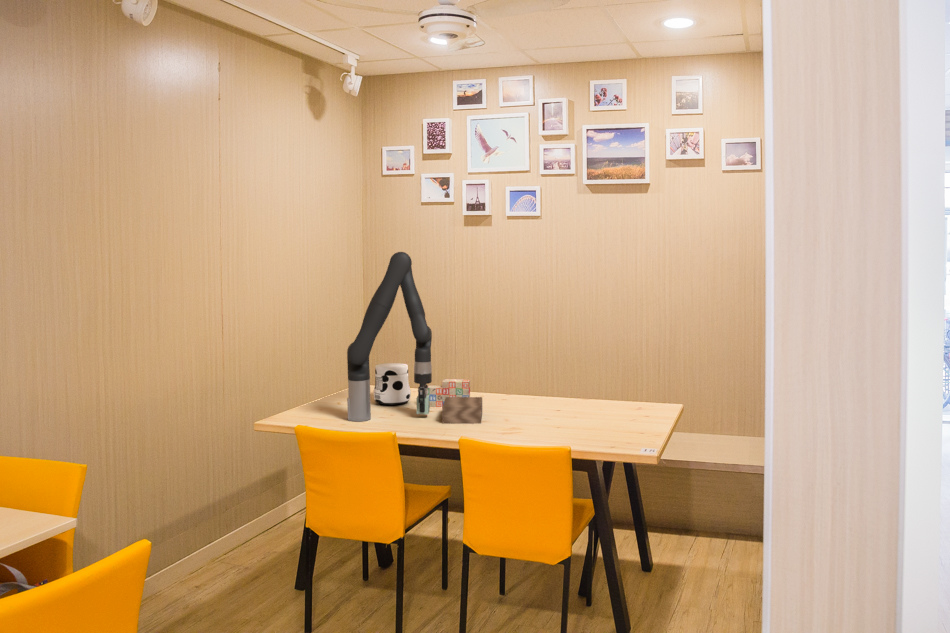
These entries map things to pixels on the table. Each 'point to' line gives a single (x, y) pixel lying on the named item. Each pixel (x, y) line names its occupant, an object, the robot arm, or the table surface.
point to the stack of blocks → (448, 391)
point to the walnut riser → (462, 410)
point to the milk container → (391, 384)
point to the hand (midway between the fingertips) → (423, 410)
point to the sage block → (425, 405)
